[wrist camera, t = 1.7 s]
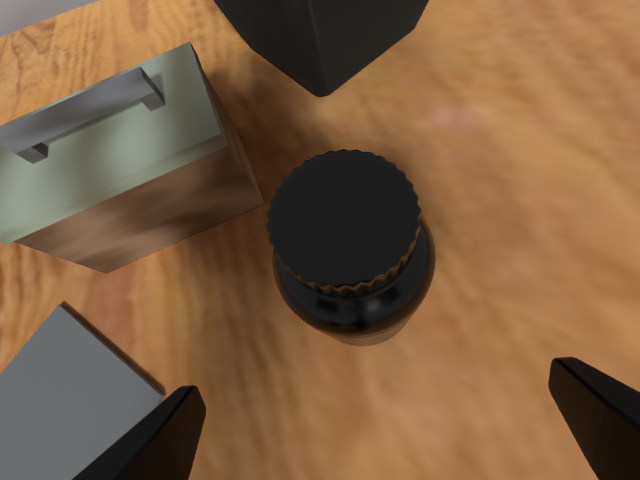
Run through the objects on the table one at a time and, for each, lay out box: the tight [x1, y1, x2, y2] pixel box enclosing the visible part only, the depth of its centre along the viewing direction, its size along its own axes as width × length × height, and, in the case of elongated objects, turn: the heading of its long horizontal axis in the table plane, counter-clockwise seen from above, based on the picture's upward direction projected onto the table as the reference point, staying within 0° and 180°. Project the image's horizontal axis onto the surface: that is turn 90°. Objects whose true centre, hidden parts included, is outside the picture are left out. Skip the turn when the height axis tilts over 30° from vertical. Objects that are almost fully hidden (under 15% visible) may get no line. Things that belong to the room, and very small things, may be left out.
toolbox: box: [0, 42, 265, 274], centre depth 22 cm, size 14×10×10 cm
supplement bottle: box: [267, 149, 436, 346], centre depth 15 cm, size 7×7×12 cm
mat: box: [0, 305, 165, 480], centre depth 20 cm, size 12×12×1 cm
